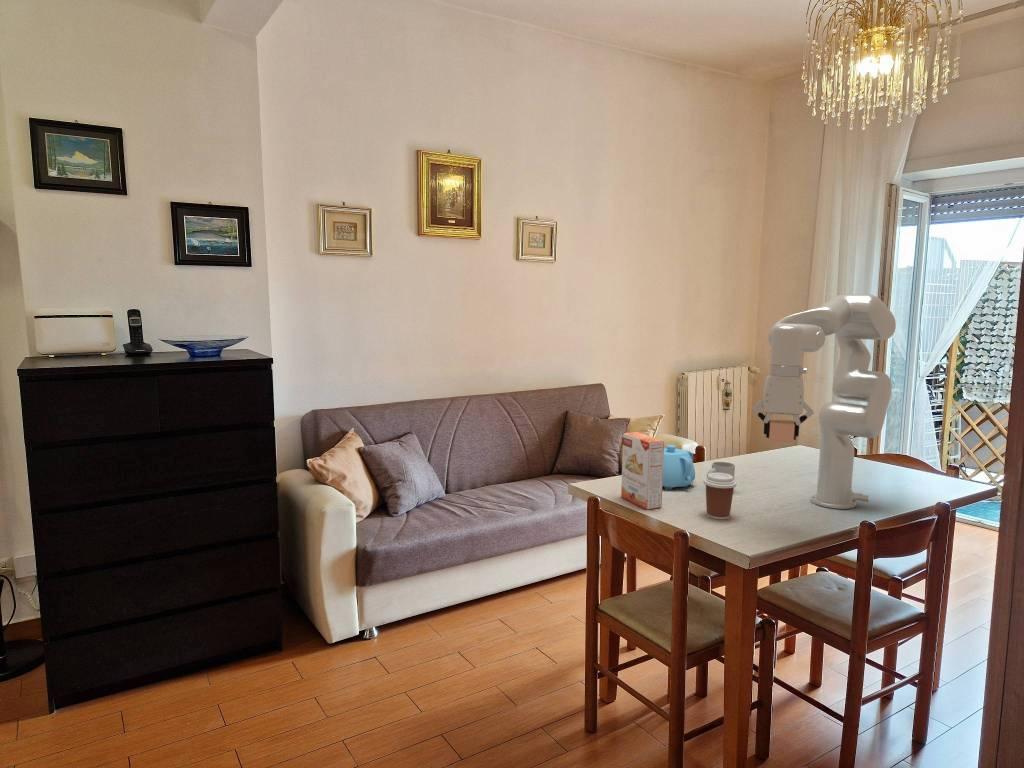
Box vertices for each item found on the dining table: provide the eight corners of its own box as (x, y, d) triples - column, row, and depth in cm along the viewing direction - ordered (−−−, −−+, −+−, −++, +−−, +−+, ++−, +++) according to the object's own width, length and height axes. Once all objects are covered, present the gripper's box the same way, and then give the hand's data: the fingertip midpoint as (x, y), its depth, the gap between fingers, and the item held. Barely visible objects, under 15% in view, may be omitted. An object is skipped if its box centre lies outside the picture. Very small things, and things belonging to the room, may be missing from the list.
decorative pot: (650, 476, 235) (652, 438, 233) (697, 481, 228) (699, 442, 227) (640, 488, 220) (641, 448, 218) (689, 494, 214) (691, 452, 212)
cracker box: (619, 497, 209) (622, 432, 206) (635, 495, 211) (638, 431, 209) (645, 510, 196) (648, 441, 193) (662, 508, 198) (665, 440, 196)
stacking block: (791, 438, 181) (792, 420, 180) (793, 443, 175) (794, 424, 175) (768, 436, 183) (769, 419, 182) (769, 441, 177) (770, 422, 176)
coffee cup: (701, 509, 198) (703, 470, 196) (733, 512, 195) (736, 473, 194) (701, 519, 189) (703, 478, 188) (735, 522, 187) (737, 481, 185)
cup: (738, 492, 216) (739, 466, 214) (713, 496, 212) (715, 468, 211) (723, 487, 222) (724, 461, 221) (699, 490, 218) (700, 463, 217)
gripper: (818, 371, 177) (813, 437, 180) (750, 368, 183) (746, 433, 185) (822, 374, 170) (817, 443, 173) (750, 371, 176) (747, 438, 178)
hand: (780, 437), depth 179 cm, fingers closed on stacking block, 6 cm apart
